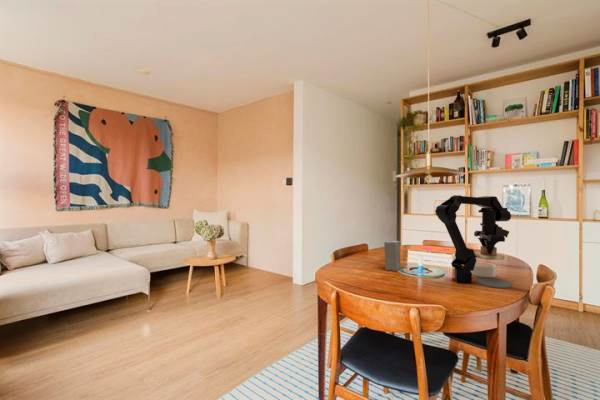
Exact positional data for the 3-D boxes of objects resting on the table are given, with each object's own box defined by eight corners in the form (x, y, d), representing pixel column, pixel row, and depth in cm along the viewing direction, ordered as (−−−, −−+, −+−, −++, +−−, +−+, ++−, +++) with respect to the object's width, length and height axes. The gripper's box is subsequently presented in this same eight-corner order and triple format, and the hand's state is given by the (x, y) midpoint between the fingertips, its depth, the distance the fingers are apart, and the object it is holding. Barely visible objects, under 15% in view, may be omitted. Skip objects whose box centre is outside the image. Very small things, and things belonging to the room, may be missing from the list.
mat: (482, 287, 135) (482, 285, 135) (469, 278, 150) (469, 276, 150) (519, 289, 132) (519, 287, 132) (502, 279, 147) (502, 277, 147)
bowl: (475, 276, 152) (475, 267, 152) (467, 271, 163) (467, 262, 163) (499, 277, 150) (499, 267, 150) (489, 271, 161) (490, 262, 161)
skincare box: (396, 271, 164) (396, 242, 163) (383, 269, 168) (383, 241, 168) (401, 268, 170) (401, 240, 170) (389, 266, 175) (389, 239, 174)
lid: (480, 259, 142) (480, 248, 142) (468, 253, 155) (468, 244, 155) (510, 260, 140) (510, 249, 140) (496, 254, 153) (496, 244, 153)
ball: (480, 273, 155) (480, 265, 155) (477, 271, 159) (477, 264, 159) (489, 273, 154) (489, 266, 154) (485, 271, 158) (485, 264, 158)
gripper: (517, 223, 137) (517, 257, 137) (497, 220, 155) (496, 250, 155) (491, 223, 138) (490, 257, 138) (473, 220, 157) (473, 249, 157)
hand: (488, 253), depth 147 cm, fingers closed on lid, 3 cm apart
